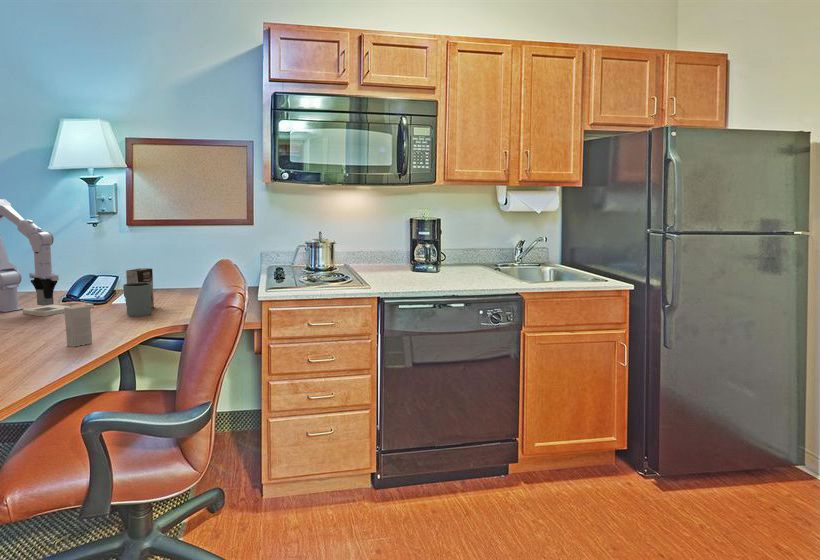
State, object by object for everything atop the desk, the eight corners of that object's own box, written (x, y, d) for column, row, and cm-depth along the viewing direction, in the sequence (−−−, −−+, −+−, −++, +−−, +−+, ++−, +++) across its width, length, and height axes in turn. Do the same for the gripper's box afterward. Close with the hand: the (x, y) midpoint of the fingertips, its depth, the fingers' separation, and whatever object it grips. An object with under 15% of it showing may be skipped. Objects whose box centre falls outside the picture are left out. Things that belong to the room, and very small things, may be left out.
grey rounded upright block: (158, 313, 255) (157, 283, 254) (140, 318, 246) (138, 286, 244) (137, 311, 259) (136, 281, 257) (118, 316, 249) (117, 285, 248)
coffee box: (141, 310, 260) (139, 270, 258) (127, 310, 262) (125, 270, 260) (154, 307, 269) (153, 268, 267) (140, 306, 271) (139, 267, 268)
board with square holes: (22, 313, 252) (22, 309, 252) (73, 305, 271) (73, 301, 271) (43, 316, 247) (43, 312, 246) (94, 307, 266) (93, 303, 266)
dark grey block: (37, 304, 253) (36, 289, 252) (46, 303, 256) (46, 288, 256) (44, 305, 251) (43, 290, 250) (53, 304, 255) (52, 289, 254)
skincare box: (85, 342, 206) (83, 304, 205) (92, 343, 204) (90, 306, 202) (66, 345, 201) (63, 307, 200) (73, 347, 199) (71, 308, 197)
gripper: (64, 263, 252) (66, 297, 254) (40, 261, 258) (42, 294, 260) (47, 264, 246) (50, 300, 248) (23, 262, 252) (25, 297, 254)
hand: (45, 297), depth 253 cm, fingers closed on dark grey block, 4 cm apart
